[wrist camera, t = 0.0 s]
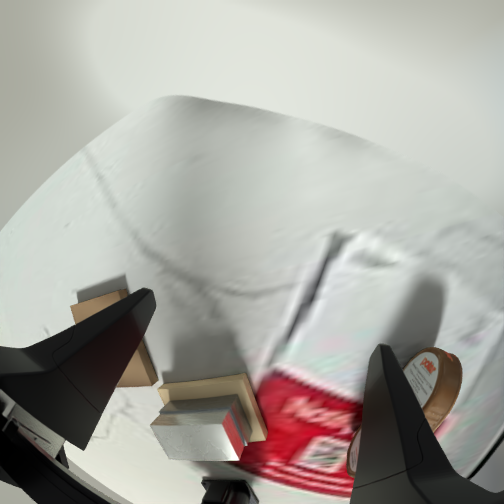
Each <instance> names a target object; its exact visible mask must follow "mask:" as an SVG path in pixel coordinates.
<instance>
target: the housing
mask: <svg viewBox="0 0 504 504" xmlns="http://www.w3.org/2000/svg"><path fill="white" fill-rule="evenodd" d="M159 412H160V415H159V416H158V417H157V418H156V419H155V420H154V421H153V422H152V423H151V424H150V427H151V428H152V430H153V432H154V434H155V436H156V438H157V439H158V441H159V443H160V445H161V446H162V448H163V450H164V451H165V453H166V455H167V456H168V458H169V459H173V460H190V461H234V460H239V459H240V457H241V454H242V451H243V449H244V446H248V443H249V440H250V437H251V435H252V432H253V431H252V429H251V426H250V424H249V422H248V419H247V417H246V414H245V412H244V409H243V407H242V404H241V402H240V399H239V396H238V394H233V395H225V396H217V397H208V398H198V399H186V400H171V401H169V402H168V403H167V404H166V405H165V406H164V407H163V408H162V409H161V410H160V411H159Z"/></svg>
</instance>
